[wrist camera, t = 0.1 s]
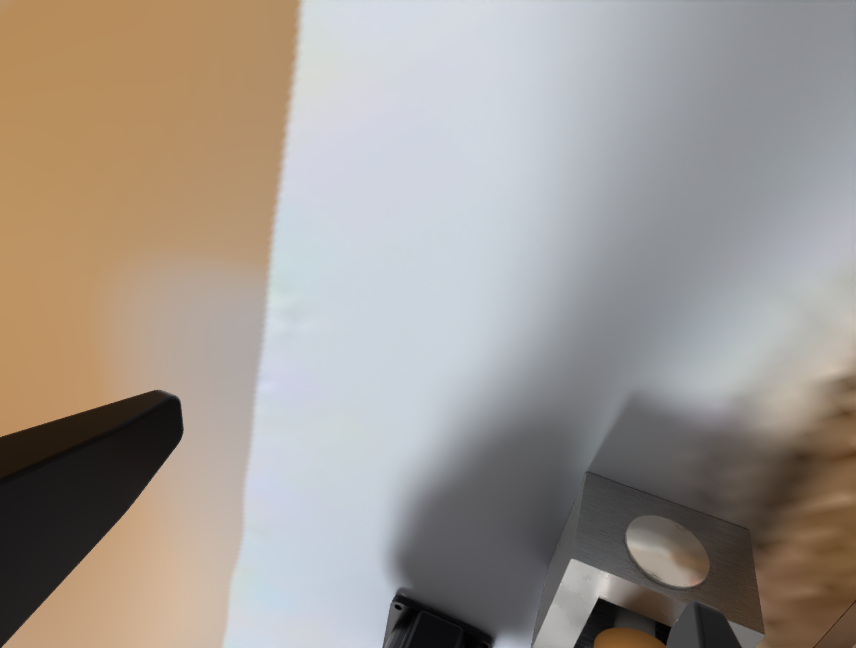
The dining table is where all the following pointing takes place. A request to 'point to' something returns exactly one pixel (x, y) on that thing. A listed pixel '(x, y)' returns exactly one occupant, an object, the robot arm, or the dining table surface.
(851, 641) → the rail
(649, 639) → the button
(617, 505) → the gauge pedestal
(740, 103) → the dining table surface
